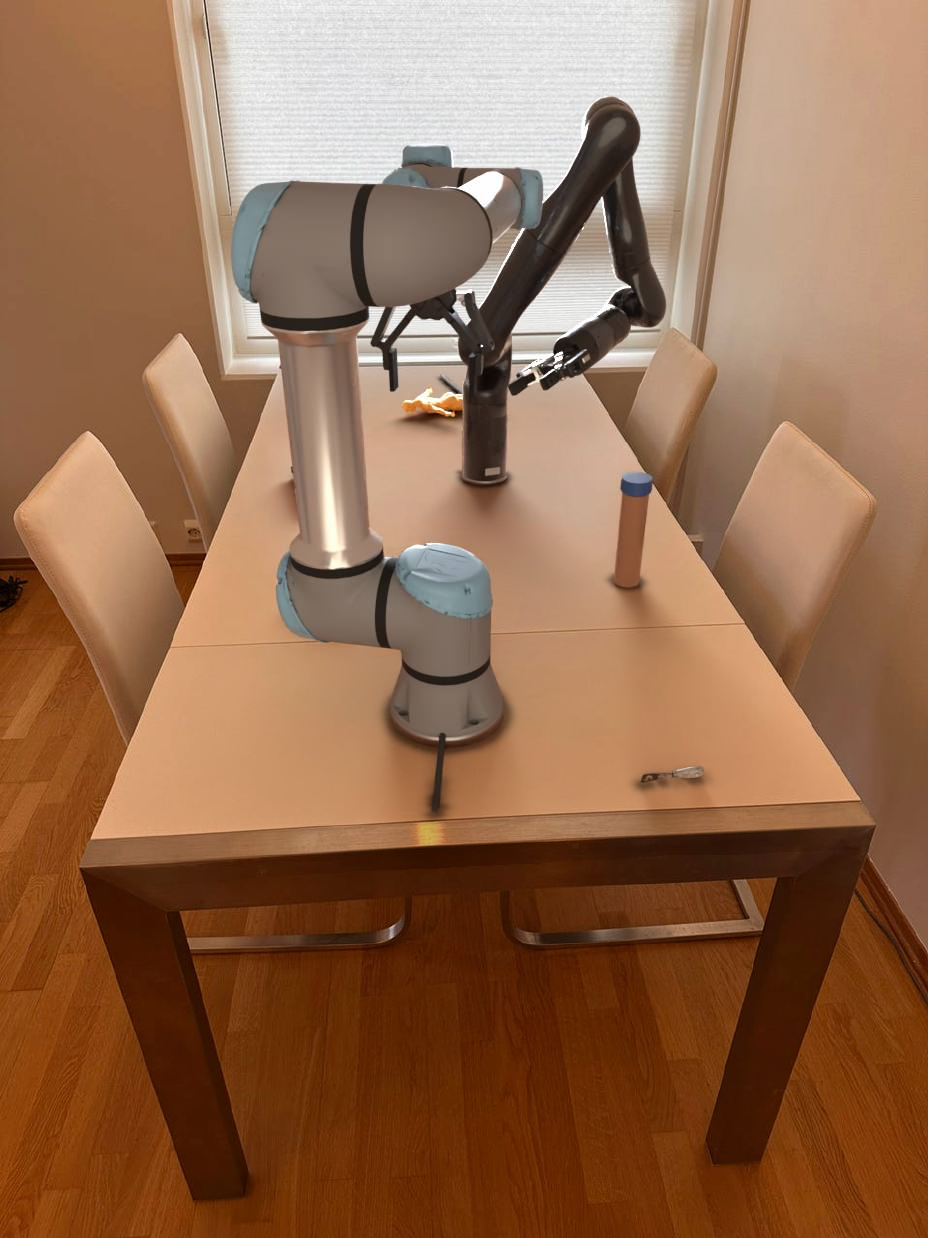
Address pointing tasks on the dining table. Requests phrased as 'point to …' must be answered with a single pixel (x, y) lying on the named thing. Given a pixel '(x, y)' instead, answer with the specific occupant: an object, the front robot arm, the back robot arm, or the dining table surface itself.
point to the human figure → (435, 403)
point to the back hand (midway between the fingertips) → (526, 388)
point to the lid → (636, 484)
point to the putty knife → (674, 774)
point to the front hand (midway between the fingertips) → (433, 391)
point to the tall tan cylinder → (630, 540)
